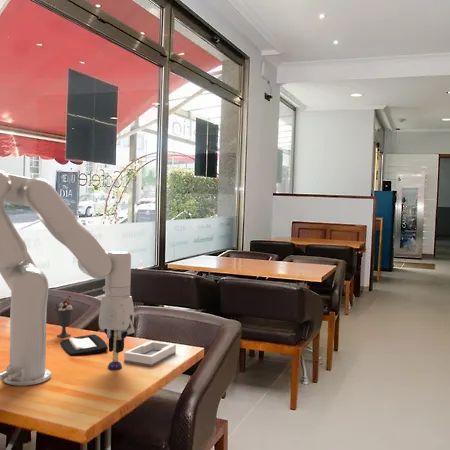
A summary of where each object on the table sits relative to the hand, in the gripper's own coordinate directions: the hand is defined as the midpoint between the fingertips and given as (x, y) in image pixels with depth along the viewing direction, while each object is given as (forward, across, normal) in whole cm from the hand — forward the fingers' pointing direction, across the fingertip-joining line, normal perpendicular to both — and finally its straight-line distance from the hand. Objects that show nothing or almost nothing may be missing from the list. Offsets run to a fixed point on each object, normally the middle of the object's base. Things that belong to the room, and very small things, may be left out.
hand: (116, 350), depth 159 cm
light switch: (+6, -22, +14) cm, 27 cm away
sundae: (+5, -38, +22) cm, 44 cm away
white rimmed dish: (+5, +4, +14) cm, 15 cm away
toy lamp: (+5, 0, 0) cm, 5 cm away
